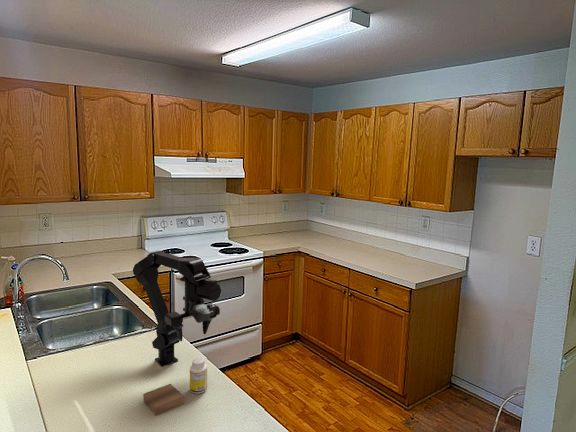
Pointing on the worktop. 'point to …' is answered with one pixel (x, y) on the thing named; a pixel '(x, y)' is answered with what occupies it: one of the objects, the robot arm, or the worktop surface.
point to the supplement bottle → (198, 376)
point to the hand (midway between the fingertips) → (193, 337)
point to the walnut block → (163, 399)
